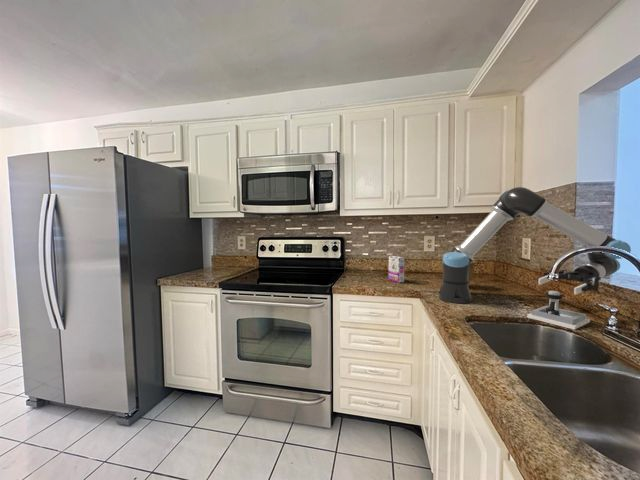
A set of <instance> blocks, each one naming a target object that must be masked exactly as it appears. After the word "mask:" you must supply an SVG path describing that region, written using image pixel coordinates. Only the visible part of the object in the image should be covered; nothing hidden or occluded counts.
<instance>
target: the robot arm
mask: <svg viewBox="0 0 640 480" xmlns="http://www.w3.org/2000/svg"><path fill="white" fill-rule="evenodd" d="M491 209H492V211H490V212H489V214H488V215H487V216H485V218H484V219H483V220H482V221H481V222H480V223H479V225H477V226H476V227H475V229H474V230H472V232H471V233H470V234H469V235H468V236H467V237H466V238H465V239H464V240H463V242H461V244H460V245H455V246H453V248H451V250H450V251H449V252H445V253H444V254H443V256H442V262H441V263H442V282H441V286H440V288H439V292H438V296H437V298H438V299H439V300H441V301H444V302H448V303H453V304H468V303H471V302H472V295H471V291H470V288H469V284H468V268H469V264H470V263H471V262H472V261H475V259H474V256H475V255H476V254H477V253H478V252H479V251H480V250H481V249H482V248H483V247H484V246H485V244H487V243H488V242H489V241H490V239H491V238H492V237H493V236H494V235H495V234H496V233H497V232H498V231H499V230H500V229H501V228H502V227H503V226H504V225H505V224H506V223H507V222H509V221H513V220H514V219H515V218H516V217H517V216H519V214H520V213H521V214H523V215H525V216H527V217H529V218H533V217H534V218H536V219H537V220H539V221H541V222H543V223H545V224H547V225H549V226H550V227H553V228H554V229H555V230H558V231H559V232H561V233H563V234H564V235H567V236H568V237H570V238H572V239H574V240H576V241H577V242H579V243H581V244H583V246H584V248H585V247H586V246H607V247H614V248H618V249H622V250H625V251H627V252H629V253H630V254H631V252H632V251H631V250H632V249H631V246H630V244H629V243H628V242H626V241H623V240H620V239H616V238H614V237H612V236H610V235H609V234H606V233H605V232H603V231H600V230H599V229H597V228H595V227H593V226H592V225H590V224H588V223H586V222H584V221H582V220H581V219H578V218H577V217H575V216H573V215H571V214H569V213H568V212H565V211H564V210H562V209H560V208H558V207H556V206H554V205H552V204H551V203H549V202H548V200H547V198H545V197H544V196H542V195H540V194H538V193H536V192H534V190H533V191H532V190H530V189H529V188H526V187H522V186H521V187H520V186H517V187H514V188H511V189H508V190H506V191H504V192H503V193H502V194H501V195H500V196H499V198H498V199H497V200H496V202H495V203H494V204H493V205H492V206H491ZM586 254H587V257H588V260H589V263H587V264H583V265H581V266H579V267H576V268H575V269H574V270H573V271H569V272H568V271H567V269H563V270H558V271H559V279H558V280H559V281H560V280H563V281H564V280H566V281H573V282H579V283H582V284H580V285H578V286H575V287H573V295H579V294H580V293H583V292H584V293H585V292H588V291H593V292H599V286H600V284H599V281H601V282H602V280H601V279H602V278H601V277H603V278H605V277H608V276H610V275H613V274H615V273H616V272H618V271H619V270H620V269H621V262H620V261H619V260H621V259H622V258H621V257H619V256H616V255H613V254H609V253H602V252H592V253H587V252H586ZM549 272H550V271H546V272H543V274H542V275H543V276H541V277H540V278H538V285H543V284H544V285H545V284H546V283H548V282H551V280H548V279H547V277H548V274H549ZM590 281H593V282H591V283H590ZM592 283H593V284H592Z"/></svg>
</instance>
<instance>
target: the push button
mask: <svg viewBox="0 0 640 480" xmlns="http://www.w3.org/2000/svg"><path fill="white" fill-rule="evenodd" d="M545 295H546V298H547V299H548V300H549V301H548V302H549V303H548V306H549V308H546V309H545V310H546V311H545V312H546V313H549V314H553V315H557V316H560V311H559V309H560V308H559V301H561V300H562V299H563V297H564V294H562V293H561V292H560V291H558V290H557V291H556V290H549V291H548V292H545Z"/></svg>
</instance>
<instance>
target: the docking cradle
mask: <svg viewBox="0 0 640 480" xmlns="http://www.w3.org/2000/svg"><path fill="white" fill-rule="evenodd" d="M546 308H549V305H544V306H541V307H539V308H535V309H532V310H531V312H530V313H527V316H526V317H527V318H528V319H531V320H536V321H539V322H544V323H548V324H551V325H555V326H559V327H563V328H567V329H571V330H577V329H579V328H581V327H583V326H585V325H587V324H589V323H590V322H591V319H590V318H587V314H586V313H583V312H582V313H581V312H577V311H574V310H573V311H572V310H568V309H562V308H559V311H560V316H557V315H553V314H549V313H546V312H545V311H546V310H545V309H546Z"/></svg>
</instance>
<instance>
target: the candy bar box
mask: <svg viewBox="0 0 640 480" xmlns="http://www.w3.org/2000/svg"><path fill="white" fill-rule="evenodd" d="M405 260H406V257H403V256H397V255H390V256H388V268H387V269H388V273H387V275H388V276H387V277H388V281H391V282H394V283H398V284H403V283H405V268H406V267H405V265H406V261H405Z"/></svg>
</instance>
